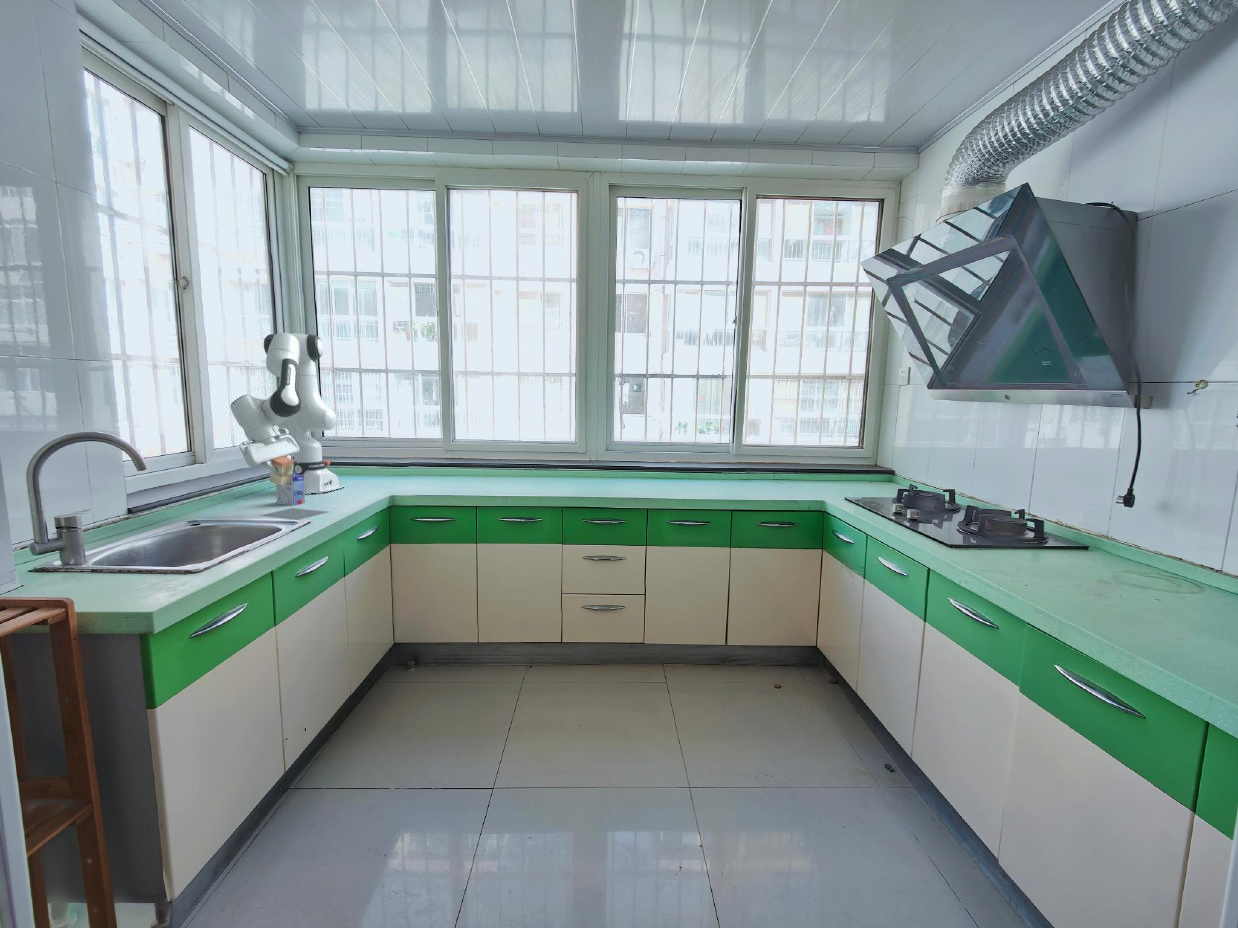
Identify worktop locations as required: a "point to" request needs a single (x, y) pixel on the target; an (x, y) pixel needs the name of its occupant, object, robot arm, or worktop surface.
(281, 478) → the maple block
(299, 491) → the ink cartridge box
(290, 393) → the robot arm
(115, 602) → the worktop surface
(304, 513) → the rubber mat
